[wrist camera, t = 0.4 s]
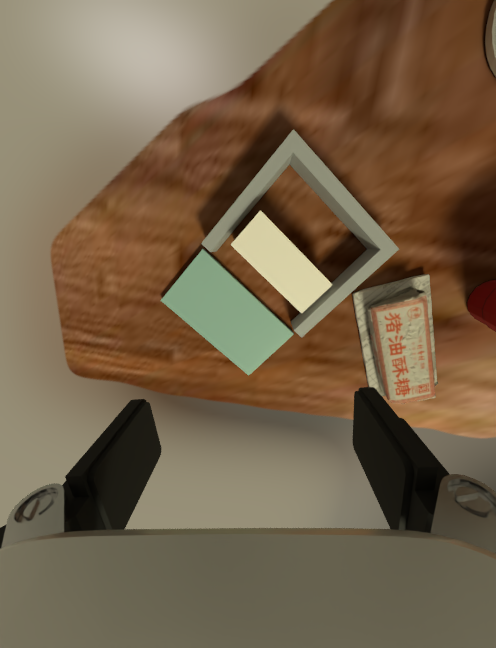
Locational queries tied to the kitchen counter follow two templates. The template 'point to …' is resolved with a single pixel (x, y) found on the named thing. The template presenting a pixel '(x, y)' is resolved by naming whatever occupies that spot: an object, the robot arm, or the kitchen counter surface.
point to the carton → (281, 262)
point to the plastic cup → (484, 304)
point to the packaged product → (398, 338)
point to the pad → (226, 313)
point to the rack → (336, 200)
